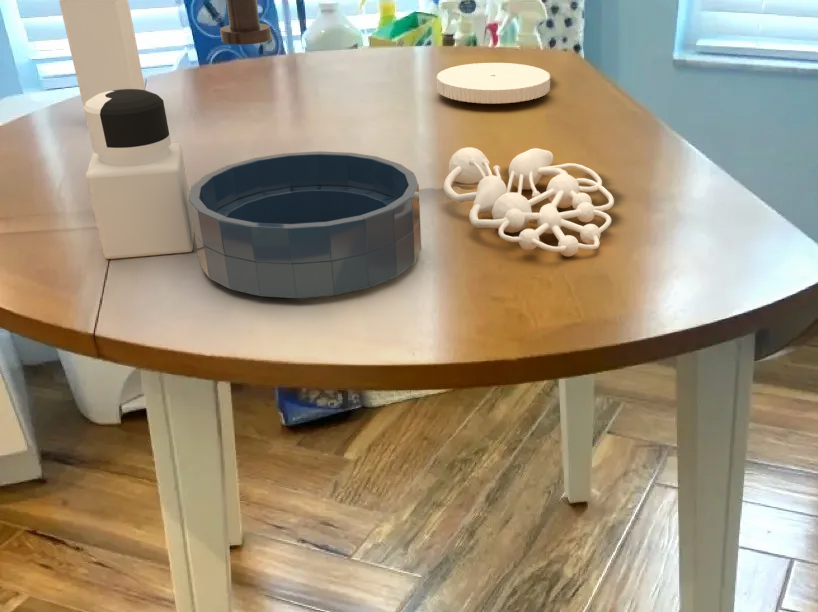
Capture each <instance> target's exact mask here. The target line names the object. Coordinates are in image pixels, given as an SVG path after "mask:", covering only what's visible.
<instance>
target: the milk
mask: <svg viewBox="0 0 818 612" xmlns="http://www.w3.org/2000/svg"><path fill="white" fill-rule="evenodd" d="M58 3H59V6H60V10H61V15H62V20H63V23H64V28H65V33H66V36H67V42H68V46H69V49H70V54H71V59H72V63H73V68H74V72H75V76H76V81H77V85H78V89H79V95H80V98H81V102H82V108H84V106H85V104H86V102H87V101H88V100H89V99H91V98H93V97H94V96H96V95H98V94H100V93H103V92H107V91H113V90H121V89H140V90H146V85H145V82H144V81H145V80H144V76H143V70H142V66H141V61H140V55H139V50H138V45H137V38H136V34H135V29H134V24H133V19H132V13H131V7H130V3H129V0H58Z"/></svg>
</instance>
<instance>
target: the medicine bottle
mask: <svg viewBox="0 0 818 612" xmlns="http://www.w3.org/2000/svg"><path fill="white" fill-rule="evenodd" d="M83 111H84V116H85V119H86V125H87V131H88V134H89V138H90V143H91V148H92V155H91V158H90V160H89V164H88V166H87V169H86V172H85V181H86V186H87V189H88V194H89V198H90V203H91V207H92V211H93V216H94V219H95V220H94V221H95V224H96V228H97V232H98V237H99V240H100V245H101V249H102V253H103V257H104V258H105V259H106V260H115V259H127V258H139V257H148V256H160V255H170V254H182V253H191V252H193V250H194V241H195V240H194V239H195V233H194V228H193V223H192V217H191V211H190V206H189V195H190V187H189V182H188V181H189V180H188V175H187V170H186V165H185V159H184V152H183V148H182V144H180V143H179V142H172V141H171V136H170V130H169V124H168V118H167V113H166V107H165V101H164V99H163V98H162V97H161V96H160V95H158V94H157V93H154V92H151V91H149V90H146V89H145V90H140V89H121V90H113V91H107V92H103V93H100V94H98V95H96V96H94V97H93V98H91V99H89V100H88V101H87V102H86V104H85V106H84V107H83Z"/></svg>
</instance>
